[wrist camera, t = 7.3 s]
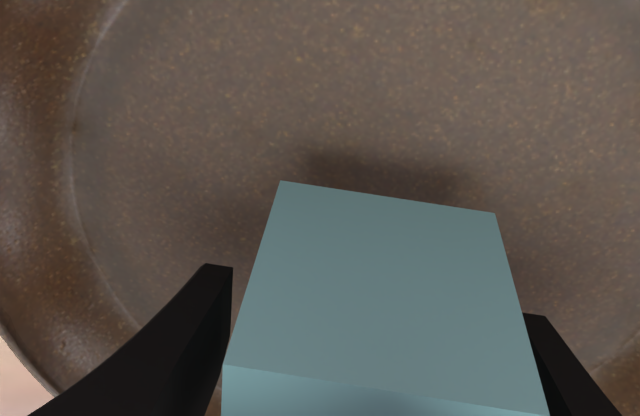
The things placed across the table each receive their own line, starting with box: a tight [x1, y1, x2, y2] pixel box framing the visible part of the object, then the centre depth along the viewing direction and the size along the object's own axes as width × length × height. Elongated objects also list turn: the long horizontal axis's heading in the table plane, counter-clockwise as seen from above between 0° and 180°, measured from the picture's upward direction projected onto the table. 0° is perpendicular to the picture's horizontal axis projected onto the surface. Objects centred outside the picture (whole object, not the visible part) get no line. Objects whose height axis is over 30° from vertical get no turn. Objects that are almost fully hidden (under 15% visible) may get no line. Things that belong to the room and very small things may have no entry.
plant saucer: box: [0, 0, 640, 416], centre depth 15 cm, size 21×21×3 cm
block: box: [221, 180, 550, 416], centre depth 11 cm, size 4×4×5 cm
